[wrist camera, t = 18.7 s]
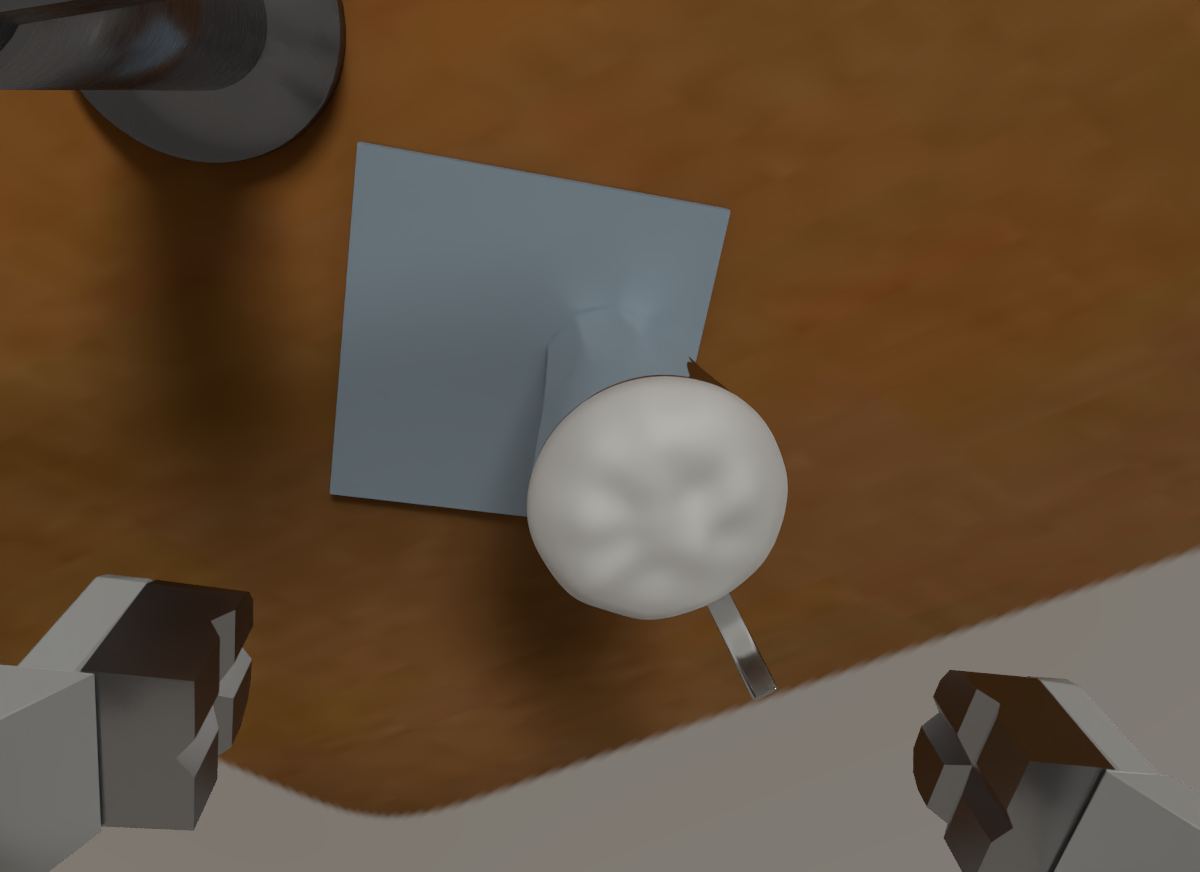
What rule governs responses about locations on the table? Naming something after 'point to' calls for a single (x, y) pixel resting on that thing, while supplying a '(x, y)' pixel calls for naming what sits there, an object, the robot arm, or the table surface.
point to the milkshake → (652, 481)
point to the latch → (52, 11)
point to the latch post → (191, 70)
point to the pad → (489, 314)
